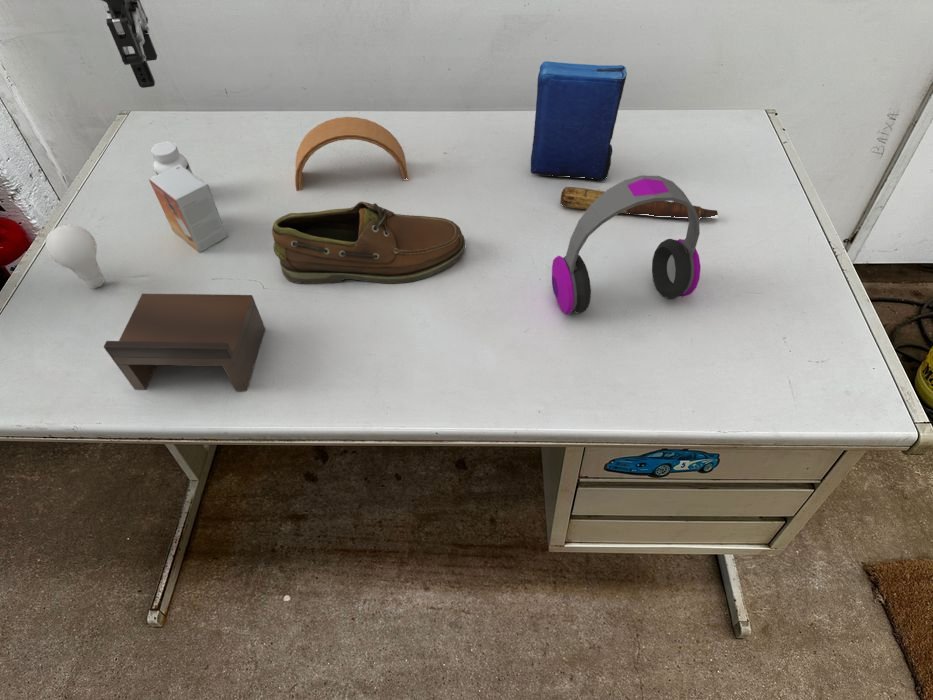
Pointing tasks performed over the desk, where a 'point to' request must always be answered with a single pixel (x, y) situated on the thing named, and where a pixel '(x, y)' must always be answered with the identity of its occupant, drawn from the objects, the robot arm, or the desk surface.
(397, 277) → the boat shoe
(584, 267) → the headphones
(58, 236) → the lightbulb
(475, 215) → the desk surface
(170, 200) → the small box
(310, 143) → the arch
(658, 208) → the hand tool
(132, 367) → the shelf
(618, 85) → the book
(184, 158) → the pill bottle
